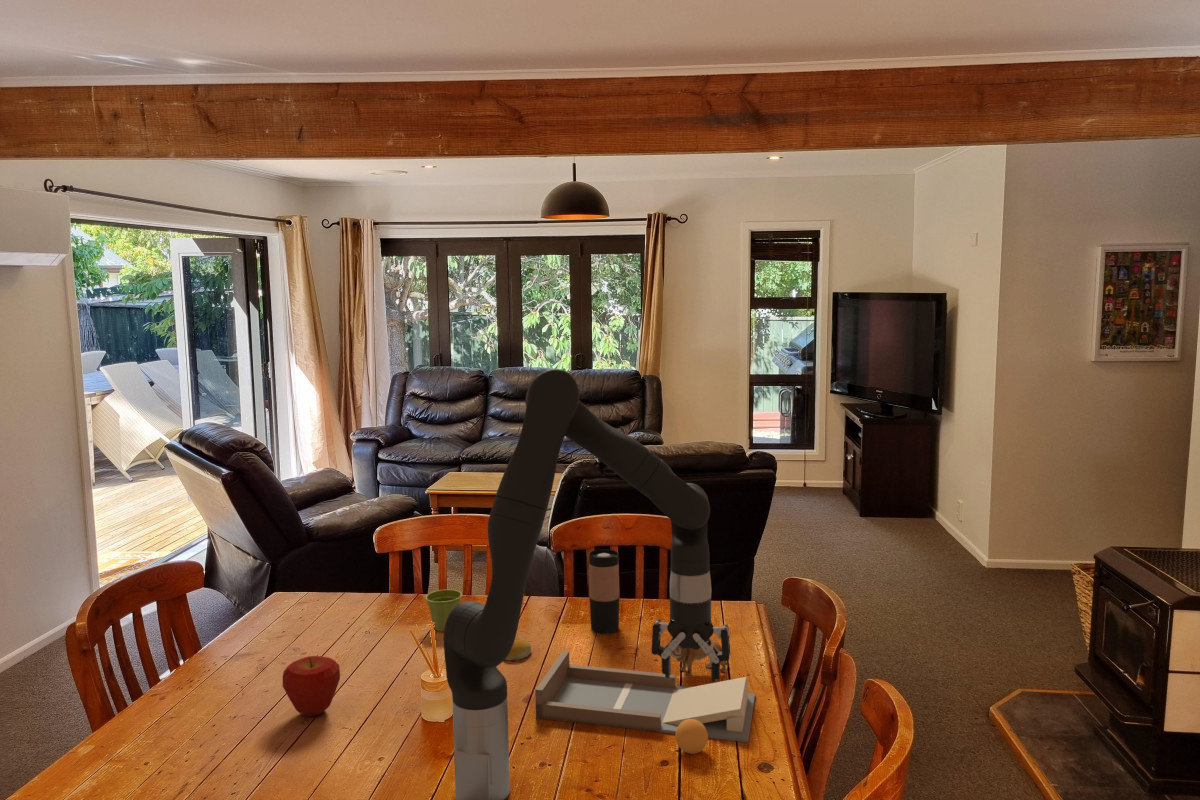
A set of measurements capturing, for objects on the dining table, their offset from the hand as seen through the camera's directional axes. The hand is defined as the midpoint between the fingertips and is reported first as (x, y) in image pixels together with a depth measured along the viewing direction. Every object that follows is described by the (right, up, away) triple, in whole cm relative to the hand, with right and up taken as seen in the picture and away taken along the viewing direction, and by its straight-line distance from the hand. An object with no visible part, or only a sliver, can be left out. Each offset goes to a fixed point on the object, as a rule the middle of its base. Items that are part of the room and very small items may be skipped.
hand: (690, 678), depth 152 cm
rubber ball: (0, -11, +1) cm, 11 cm away
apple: (-76, -14, +18) cm, 79 cm away
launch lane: (-7, -13, +19) cm, 24 cm away
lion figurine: (+5, -10, +34) cm, 36 cm away
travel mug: (-16, -8, +60) cm, 62 cm away
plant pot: (-57, -8, +62) cm, 85 cm away
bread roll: (-38, -10, +46) cm, 60 cm away
